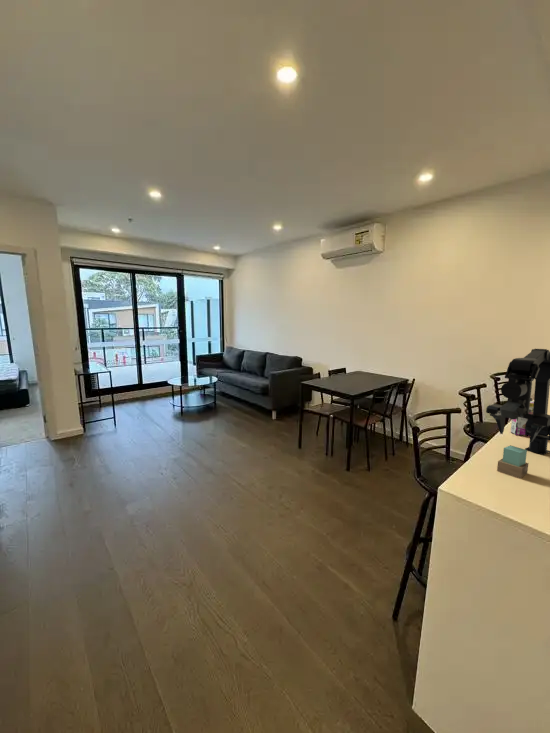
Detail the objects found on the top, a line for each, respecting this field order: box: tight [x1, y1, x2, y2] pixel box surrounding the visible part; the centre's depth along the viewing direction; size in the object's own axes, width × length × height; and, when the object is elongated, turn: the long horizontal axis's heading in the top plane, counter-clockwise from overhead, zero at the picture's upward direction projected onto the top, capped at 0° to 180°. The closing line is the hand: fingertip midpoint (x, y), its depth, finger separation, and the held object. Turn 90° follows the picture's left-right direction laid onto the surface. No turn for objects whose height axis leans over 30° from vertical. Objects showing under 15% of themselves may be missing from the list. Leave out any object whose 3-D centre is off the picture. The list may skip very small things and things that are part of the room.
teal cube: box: [502, 445, 528, 467], centre depth 113 cm, size 5×5×5 cm
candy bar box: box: [510, 400, 534, 436], centre depth 153 cm, size 11×5×16 cm, turn 78°
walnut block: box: [496, 457, 529, 480], centre depth 113 cm, size 7×7×4 cm
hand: (515, 437), depth 114 cm, fingers open, 9 cm apart
